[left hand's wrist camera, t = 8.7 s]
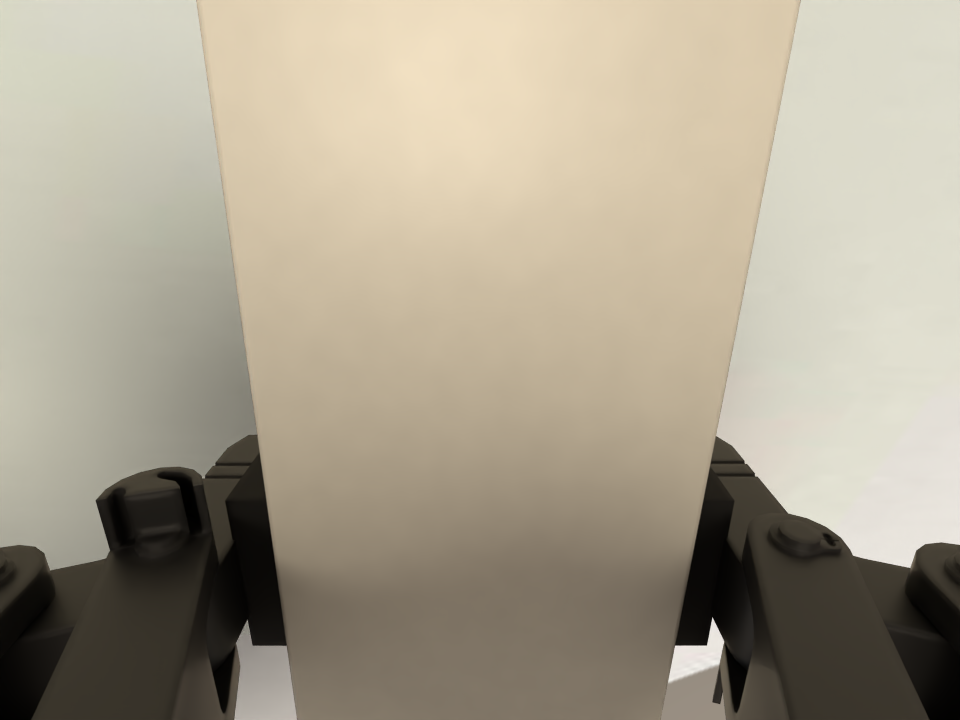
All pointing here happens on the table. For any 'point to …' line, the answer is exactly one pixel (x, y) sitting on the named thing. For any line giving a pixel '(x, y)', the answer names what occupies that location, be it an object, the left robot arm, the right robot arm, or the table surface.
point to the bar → (489, 330)
